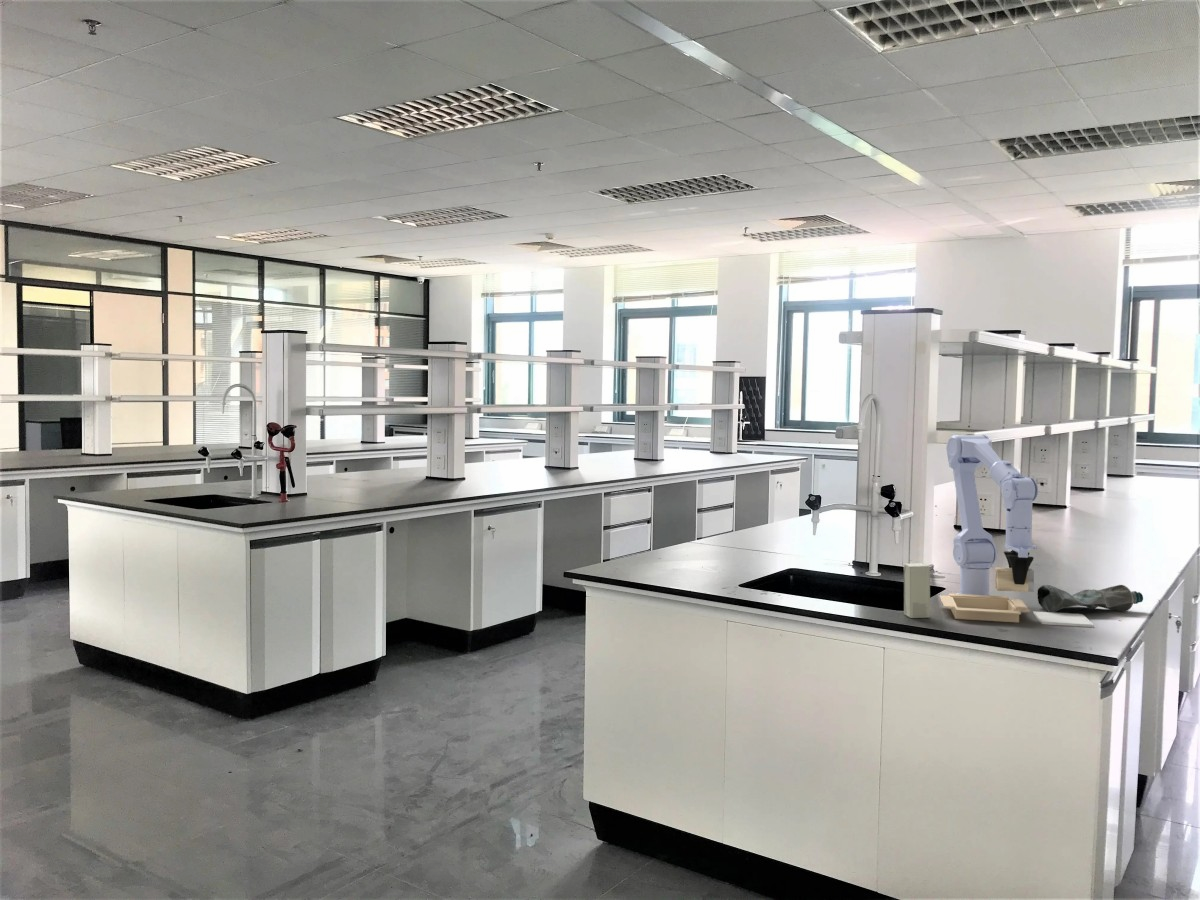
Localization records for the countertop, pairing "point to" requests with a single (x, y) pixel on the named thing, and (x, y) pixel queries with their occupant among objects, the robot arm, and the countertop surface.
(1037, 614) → the mat
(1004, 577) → the block
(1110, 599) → the crushed plastic bottle
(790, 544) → the countertop surface
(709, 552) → the countertop surface
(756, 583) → the countertop surface
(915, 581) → the box
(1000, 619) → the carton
